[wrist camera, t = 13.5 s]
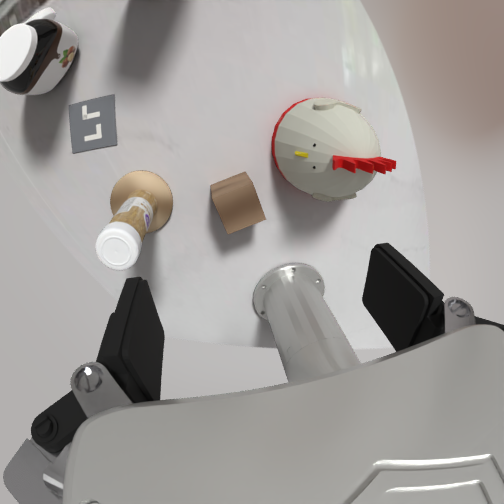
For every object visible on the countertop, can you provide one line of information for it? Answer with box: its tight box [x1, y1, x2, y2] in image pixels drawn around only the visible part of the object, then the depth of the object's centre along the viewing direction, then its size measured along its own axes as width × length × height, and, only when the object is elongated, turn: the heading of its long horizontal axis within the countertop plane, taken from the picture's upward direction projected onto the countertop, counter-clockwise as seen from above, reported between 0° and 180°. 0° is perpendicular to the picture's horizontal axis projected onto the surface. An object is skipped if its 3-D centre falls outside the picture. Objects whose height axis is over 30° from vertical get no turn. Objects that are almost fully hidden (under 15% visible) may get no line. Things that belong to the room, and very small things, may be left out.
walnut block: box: [211, 172, 266, 234], centre depth 35 cm, size 5×5×6 cm
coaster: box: [110, 171, 173, 233], centre depth 35 cm, size 9×9×1 cm
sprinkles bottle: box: [95, 190, 157, 270], centre depth 29 cm, size 5×5×14 cm
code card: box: [69, 94, 117, 153], centre depth 29 cm, size 7×7×1 cm
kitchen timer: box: [272, 98, 396, 202], centre depth 30 cm, size 14×14×15 cm
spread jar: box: [0, 7, 78, 95], centre depth 17 cm, size 12×11×12 cm
